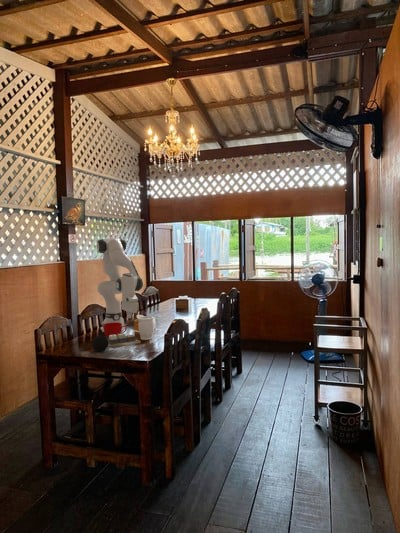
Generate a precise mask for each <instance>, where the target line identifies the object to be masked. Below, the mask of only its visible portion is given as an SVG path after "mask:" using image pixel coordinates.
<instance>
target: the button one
mask: <svg viewBox="0 0 400 533" xmlns="http://www.w3.org/2000/svg"><path fill="white" fill-rule="evenodd" d="M109 339H110V340H115V339H117V335H109Z"/></svg>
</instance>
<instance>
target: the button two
mask: <svg viewBox="0 0 400 533" xmlns="http://www.w3.org/2000/svg"><path fill="white" fill-rule="evenodd" d="M121 333H122V332H121ZM126 335H127V334H126V333H125V332H124V333H122V334H118V338H119V339H121V338H126Z"/></svg>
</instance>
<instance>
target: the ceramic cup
mask: <svg viewBox="0 0 400 533" xmlns="http://www.w3.org/2000/svg"><path fill="white" fill-rule="evenodd" d="M102 327H103V329H104V332H103V333H104V336H105V337H106V338H107V339H109V335H117V337H118V334H122V333H124V334H125V332H127V330H128V329H127V328H128V327H127V326H126V325H124V326H122V323H117V322H114V323H106V324H104V325H102ZM122 327H125V329H124V330H123V331H121V330H122Z"/></svg>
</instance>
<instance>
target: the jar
mask: <svg viewBox="0 0 400 533" xmlns="http://www.w3.org/2000/svg"><path fill="white" fill-rule="evenodd" d="M137 319H138V324H137V325H138V334H139V336H140V338H139V340H140V341H149V340H152V339H153V335H154V327H155V326H154V325H155V324H154V316H149V315H148V316H147V315H146V316H140V317H137Z"/></svg>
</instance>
